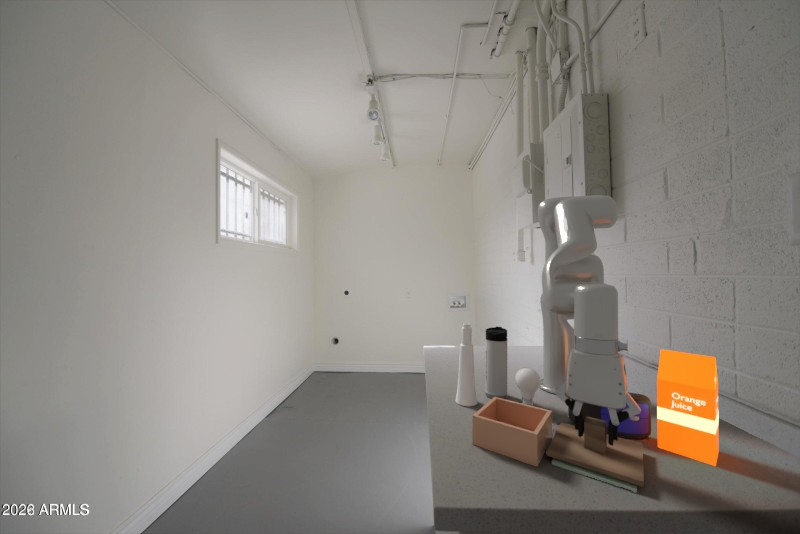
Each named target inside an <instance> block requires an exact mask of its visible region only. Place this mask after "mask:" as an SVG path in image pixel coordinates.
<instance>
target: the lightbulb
mask: <svg viewBox="0 0 800 534" xmlns="http://www.w3.org/2000/svg"><path fill="white" fill-rule="evenodd" d="M540 380H541V377H540V375H539V373H538V372H537V371H536V370H535V369H534V368H531V367H528V366H527V367H521V368H519V369H517V371H516V373H515V377H514V381H515V384H516V386H517V388H518V390H519V391H520V395H521V397H522V398H521V399H522V404H526V405H530V406H534V398H535V396H536V395H535V394H536V392H537V391H538V389H539V388H540V387H539V386H540V382H541V381H540Z"/></svg>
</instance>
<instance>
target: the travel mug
mask: <svg viewBox="0 0 800 534" xmlns="http://www.w3.org/2000/svg"><path fill="white" fill-rule="evenodd" d="M484 340H485V345H484V347H485V349H484V350H485V351H484V352H485V353H484V354H485V356H484V357H485V361H484V362H485V364H484V365H485V367H484V369H485V370H484V371H485V372H484V373H485V374H484V375H485V377H484V378H485V380H484V383H485V387H484V388H485V390H484V391H485V393H484V394H485V396H486V397H487V398H489V399H492V398H494V397H498V398H502V399H507V397H508V329H506V328H504V327H502V326H495V327H488V328H486V329H485V339H484Z"/></svg>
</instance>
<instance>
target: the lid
mask: <svg viewBox="0 0 800 534" xmlns="http://www.w3.org/2000/svg"><path fill="white" fill-rule="evenodd" d="M643 447H644V446H643V443H642V442H637V441H634V440H630V439H627V438H624V437H618V441H617V440H614V442H613V446H612V445H610V444H608V434H607V421H604V420H600V419H596V418H592V417H587V416H586V419H585V422H584V433H583V436H581V437H579V436H578V430H576V429H575V425H573V424H569V423H565V422H562V421H561V422H560V424H559V425H558V427H557V429H556V431H555V433H554V435H553V436H552V439H551V441H550V443H549V445H548V447H547V449H546V451H545V453H546V455H545V456H547V457H549V458H550V457H551V458H552V459H553V458H556V459H559V460H562V461H565V462H569V463H572V464H575V465H578V466H581V467H584V468H587V469H590V470H593V471H596V472H599V473H602V474H605V475H609V476H612V477H615V478H618V479H621V480H624V481H627V482H630V483H633V484H636V485H637V486H640V487H643V488H644V487H645V478H644V477H645V476H644V475H645V474H644V455H643V454H644V450H643V449H644V448H643Z"/></svg>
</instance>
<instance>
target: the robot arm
mask: <svg viewBox="0 0 800 534" xmlns="http://www.w3.org/2000/svg"><path fill="white" fill-rule="evenodd" d="M618 216H619V210H618V205H617V203H616V201H615V200H614V199H613V197H612V196H610V195H601V194H600V195H599V194H598V195H597V194H595V195H593V194H592V195H578V196H577V195H576V196H559V197H551V198H547V199H544V200H543V201H541V202H540V203H539V205H538V206H537V219H538V223H539V227H540V229H541V232H542V235H543V237H544V242H545V245H544V246H545V251H544V253H545V254H544V255H545V263H544V265H543V268H542V271H541V287H542V289H541V290H542V293H541V295H540V300H539V301H540V303H539V304H540V310H541V315H542V326H543V327H542V329H543V330H542V331H543V333H542V334H543V335H542V336H543V343H542V344H543V378H542V379H540V381H541V382H540V386H539V388H540V389H541V390H543V391H545V392H548V393H550V394H555V395H556V397H558V398H559V399H560V400H561V401H562V402H564V404H565V405H566V406H567V407H569V408H570V409H571V410H572V412H573V414H574V415H575V424H574V426H575V429H576V430H578V436H579V437H581V436H583V433H584V413H583V410H582V405H583V402H584V403H588V404H593V405H597V406H602V407H606V408H608V410H609V414H610V419H609V424H608V444H610V445H612V446H613V442H614V440H617V441H618V425H619V423H621V422H622V421H624V420H626V419H627V418H629V417H632V416H634V415H637V414H640V412H641V409H640V407H639V406H638V405H637V403H636V402H635V401H634V399H633V398H632V397H631V396H630V394H629V393H628V382H627V369H626V363H625V359H624V355H623V354H621V353H620V352H621V351H622V352H623V351H628V343H624V342H621V340H619V292H618V289H617V287H615V286H614V285H610V284H607V283H605V272H604V271H605V270H604V264H603V263H604V262H602V259H601V258H600V257H599V256H597V255H596V254H594V253H595V251H596V250H597V248H598V241H597V237H596V232H595V229H610V228H612V227H613V226H615V225H616V223H617V220H618ZM568 320H573V326H572V325H571V324H570V323H569V322H568ZM574 400H575V401H576V402H574ZM626 403H627V405H628V406H629V408H627V409H624V408H625V407H626ZM620 409H623V410H621V411H619V412H618V410H620Z"/></svg>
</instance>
